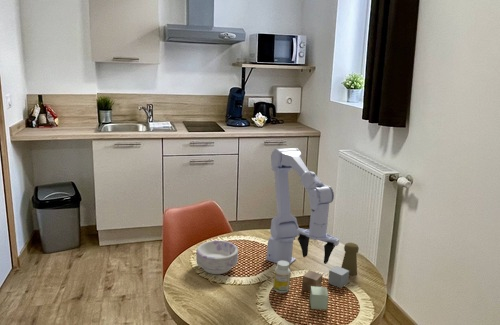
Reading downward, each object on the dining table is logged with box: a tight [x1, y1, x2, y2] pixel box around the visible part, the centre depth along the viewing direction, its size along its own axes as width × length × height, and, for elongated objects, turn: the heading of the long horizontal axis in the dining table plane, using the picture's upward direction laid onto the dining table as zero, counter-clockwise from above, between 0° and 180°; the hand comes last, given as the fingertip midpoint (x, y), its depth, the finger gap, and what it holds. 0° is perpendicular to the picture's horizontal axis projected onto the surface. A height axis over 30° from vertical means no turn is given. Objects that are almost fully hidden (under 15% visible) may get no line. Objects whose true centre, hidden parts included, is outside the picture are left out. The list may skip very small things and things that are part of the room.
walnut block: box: [301, 269, 323, 293], centre depth 141 cm, size 5×5×5 cm
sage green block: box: [309, 286, 329, 311], centre depth 131 cm, size 5×5×5 cm
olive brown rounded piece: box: [340, 242, 360, 276], centre depth 153 cm, size 6×6×11 cm
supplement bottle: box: [273, 260, 292, 294], centre depth 139 cm, size 5×5×10 cm
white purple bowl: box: [195, 240, 239, 275], centre depth 151 cm, size 15×15×8 cm
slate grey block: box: [327, 265, 350, 289], centre depth 145 cm, size 5×5×5 cm
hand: (315, 259), depth 139 cm, fingers open, 7 cm apart
